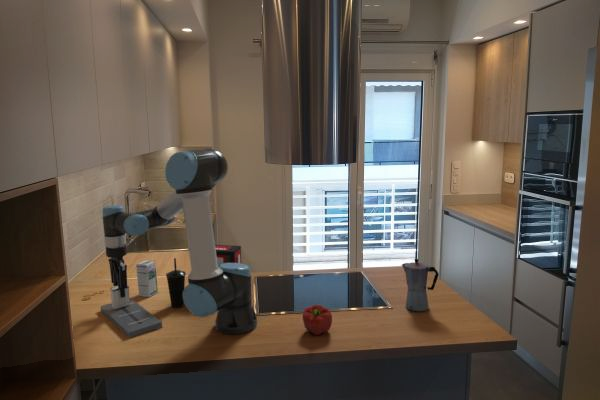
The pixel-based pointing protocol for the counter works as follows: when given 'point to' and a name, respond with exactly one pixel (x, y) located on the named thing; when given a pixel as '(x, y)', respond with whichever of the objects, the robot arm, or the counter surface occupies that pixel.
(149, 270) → the syrup box
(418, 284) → the moka pot
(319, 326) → the vegetable
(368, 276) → the counter surface
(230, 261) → the cleaning product box
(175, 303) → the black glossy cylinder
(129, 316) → the fader console
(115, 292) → the fader knob
